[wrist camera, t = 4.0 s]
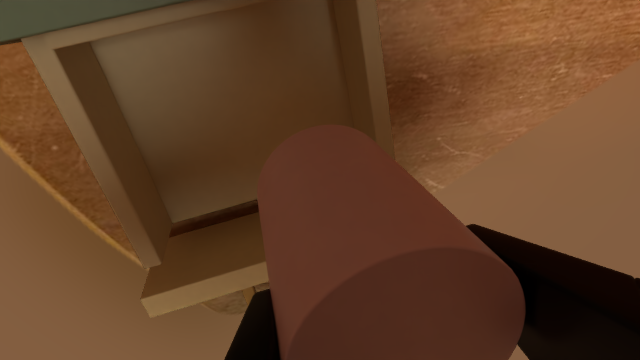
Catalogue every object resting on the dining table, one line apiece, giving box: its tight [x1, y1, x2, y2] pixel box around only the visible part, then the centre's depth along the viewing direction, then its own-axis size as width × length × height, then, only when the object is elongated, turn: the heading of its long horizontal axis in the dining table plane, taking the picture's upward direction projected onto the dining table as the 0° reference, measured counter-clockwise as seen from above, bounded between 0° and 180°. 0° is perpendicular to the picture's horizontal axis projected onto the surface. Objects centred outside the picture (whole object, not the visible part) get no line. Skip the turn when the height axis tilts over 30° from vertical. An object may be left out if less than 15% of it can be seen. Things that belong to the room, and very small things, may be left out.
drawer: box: [21, 0, 395, 318], centre depth 18 cm, size 17×13×5 cm
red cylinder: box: [257, 125, 526, 360], centre depth 10 cm, size 5×5×7 cm
